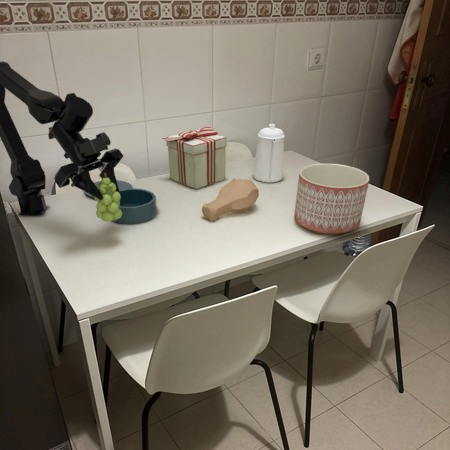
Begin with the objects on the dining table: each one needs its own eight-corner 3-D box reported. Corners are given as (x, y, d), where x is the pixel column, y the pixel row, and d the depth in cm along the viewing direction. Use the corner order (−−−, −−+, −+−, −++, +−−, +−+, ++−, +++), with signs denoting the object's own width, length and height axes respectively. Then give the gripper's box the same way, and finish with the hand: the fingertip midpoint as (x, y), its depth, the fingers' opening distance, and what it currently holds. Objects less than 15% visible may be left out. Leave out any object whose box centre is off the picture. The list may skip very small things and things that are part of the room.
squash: (264, 207, 142) (268, 183, 135) (218, 234, 132) (219, 209, 125) (240, 192, 147) (242, 168, 140) (194, 216, 137) (194, 191, 130)
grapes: (94, 223, 114) (88, 176, 107) (99, 212, 120) (93, 167, 113) (120, 224, 115) (116, 177, 108) (124, 213, 120) (120, 168, 113)
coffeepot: (254, 191, 153) (257, 134, 142) (251, 166, 173) (254, 115, 162) (286, 192, 153) (292, 135, 142) (279, 167, 173) (284, 116, 162)
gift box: (192, 167, 171) (190, 120, 161) (228, 179, 161) (229, 129, 151) (158, 178, 160) (155, 128, 150) (195, 192, 151) (194, 140, 141)
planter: (281, 215, 137) (286, 167, 128) (333, 206, 144) (341, 160, 135) (317, 243, 123) (325, 191, 114) (372, 231, 129) (384, 181, 121)
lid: (80, 200, 143) (77, 184, 140) (90, 182, 156) (87, 167, 153) (129, 200, 144) (127, 184, 141) (135, 183, 156) (133, 168, 153)
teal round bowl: (103, 224, 130) (101, 207, 127) (112, 203, 142) (110, 188, 139) (154, 224, 130) (153, 207, 127) (158, 203, 142) (157, 188, 139)
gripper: (52, 131, 99) (95, 190, 100) (113, 115, 112) (150, 168, 113) (37, 159, 107) (76, 214, 108) (96, 141, 120) (130, 190, 121)
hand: (110, 195), depth 113 cm, fingers closed on grapes, 5 cm apart
